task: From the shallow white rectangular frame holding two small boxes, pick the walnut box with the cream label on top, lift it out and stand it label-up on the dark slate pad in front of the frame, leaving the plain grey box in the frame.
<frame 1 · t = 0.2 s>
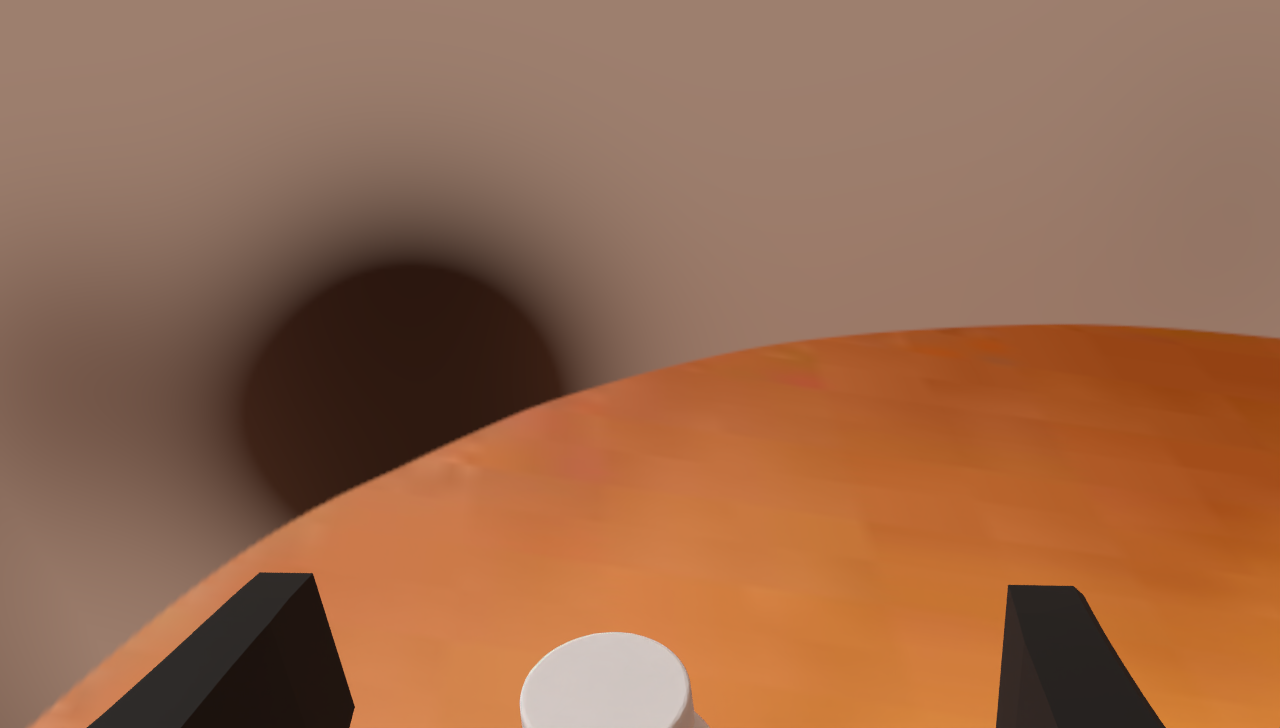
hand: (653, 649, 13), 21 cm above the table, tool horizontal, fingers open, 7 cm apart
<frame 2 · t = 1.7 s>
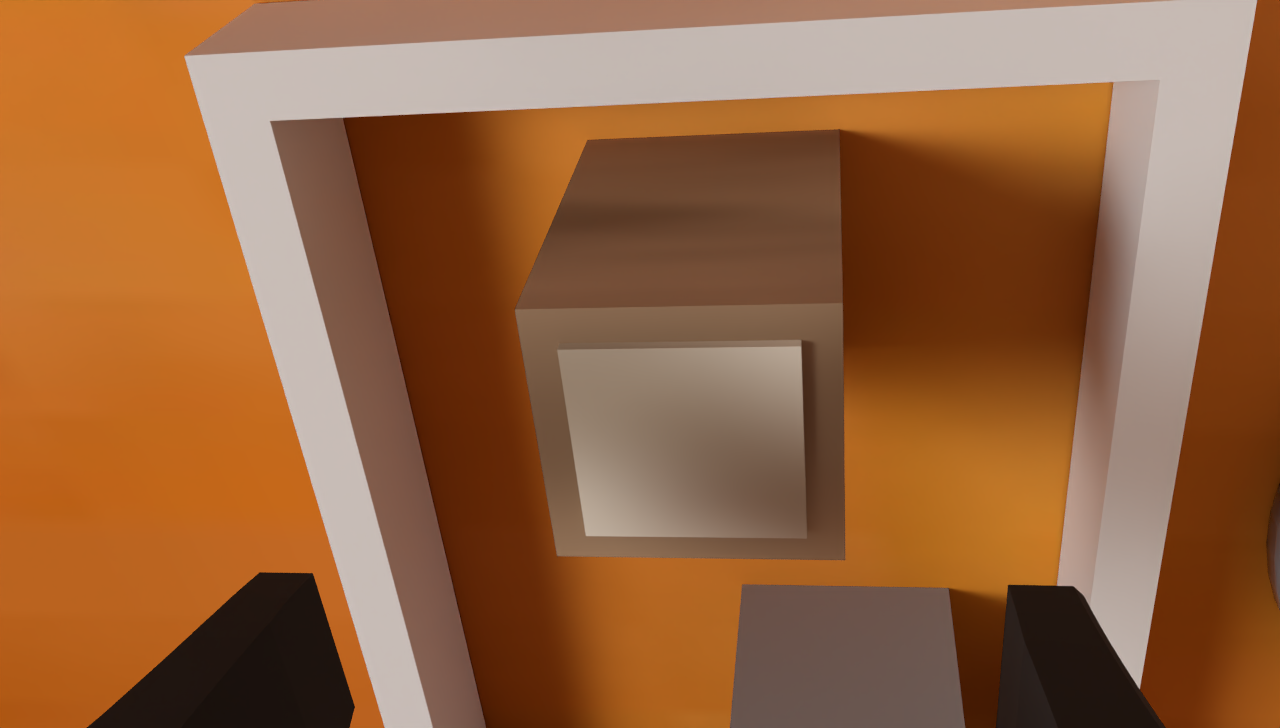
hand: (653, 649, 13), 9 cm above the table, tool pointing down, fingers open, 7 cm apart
white rectangular frame: (733, 465, 23), on the table
plain grey box: (844, 658, 25), resting in white rectangular frame
labelled walnut box: (719, 247, 20), resting in white rectangular frame
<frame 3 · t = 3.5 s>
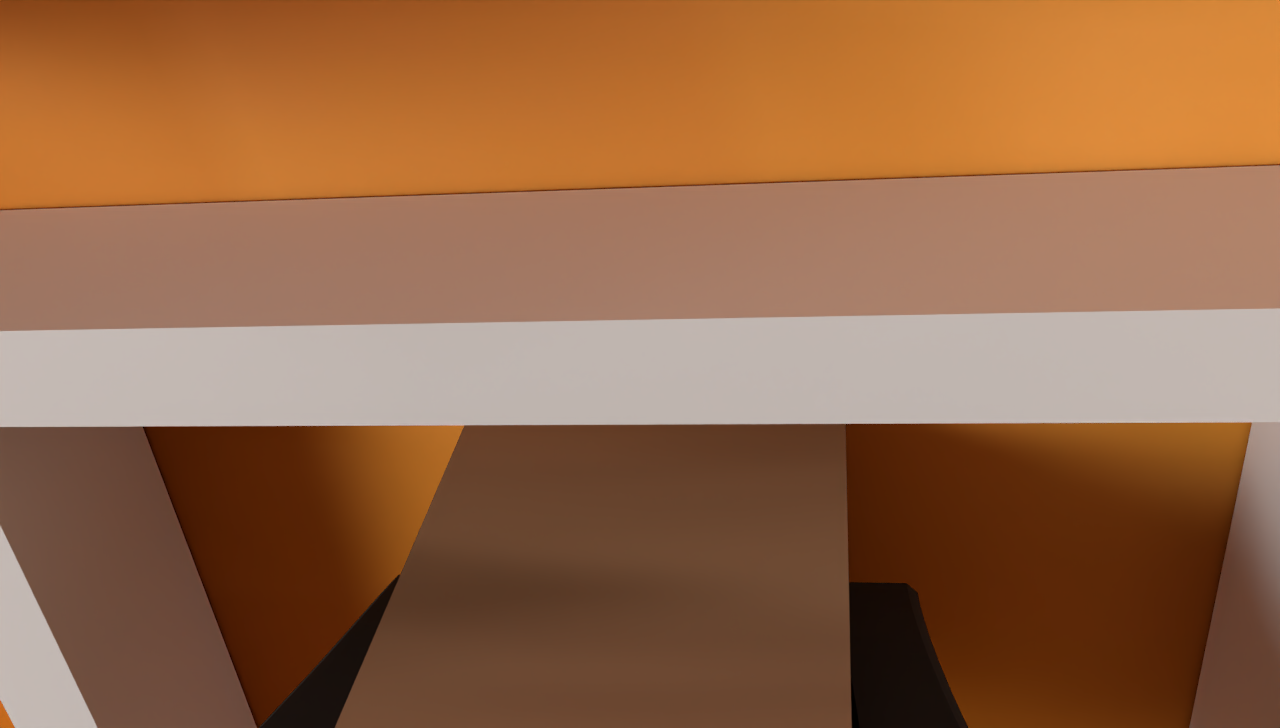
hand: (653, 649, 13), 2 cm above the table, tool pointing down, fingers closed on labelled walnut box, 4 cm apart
labelled walnut box: (670, 546, 14), resting in white rectangular frame, touching gripper
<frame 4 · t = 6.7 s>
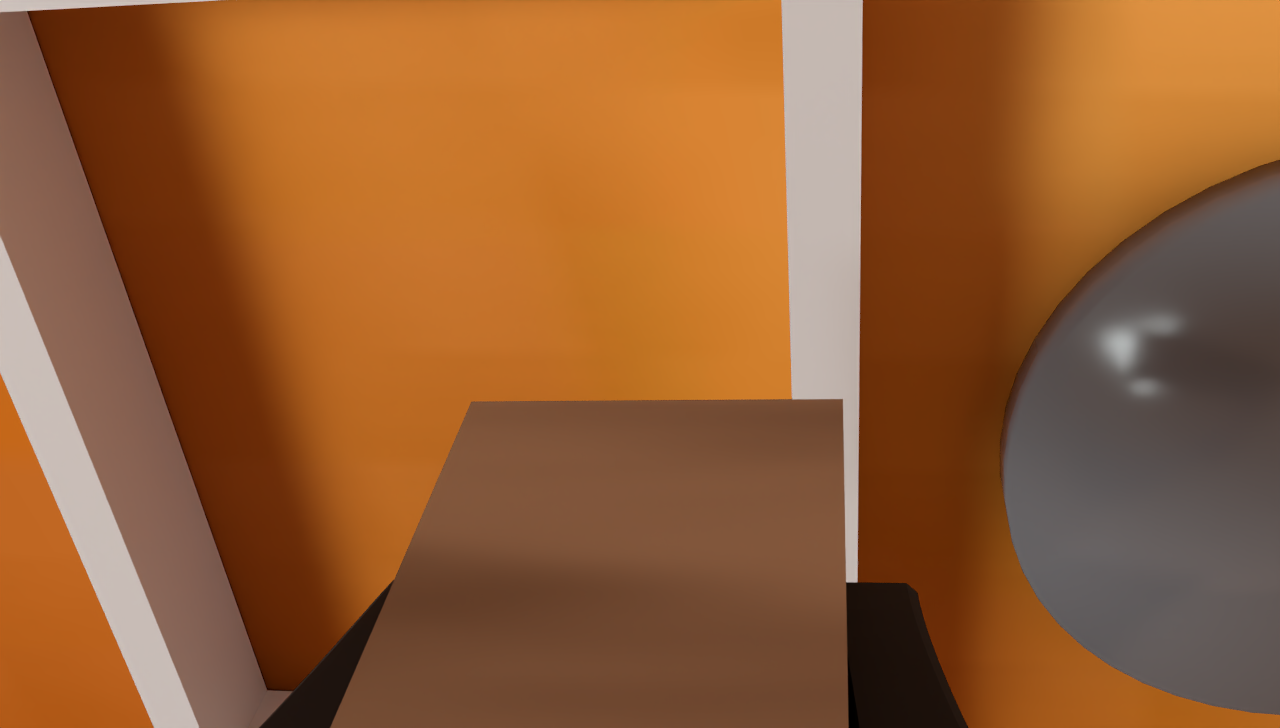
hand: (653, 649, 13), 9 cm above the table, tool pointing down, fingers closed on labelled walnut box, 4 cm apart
white rectangular frame: (466, 394, 22), on the table
labelled walnut box: (668, 544, 14), point 7 cm above the table, touching gripper
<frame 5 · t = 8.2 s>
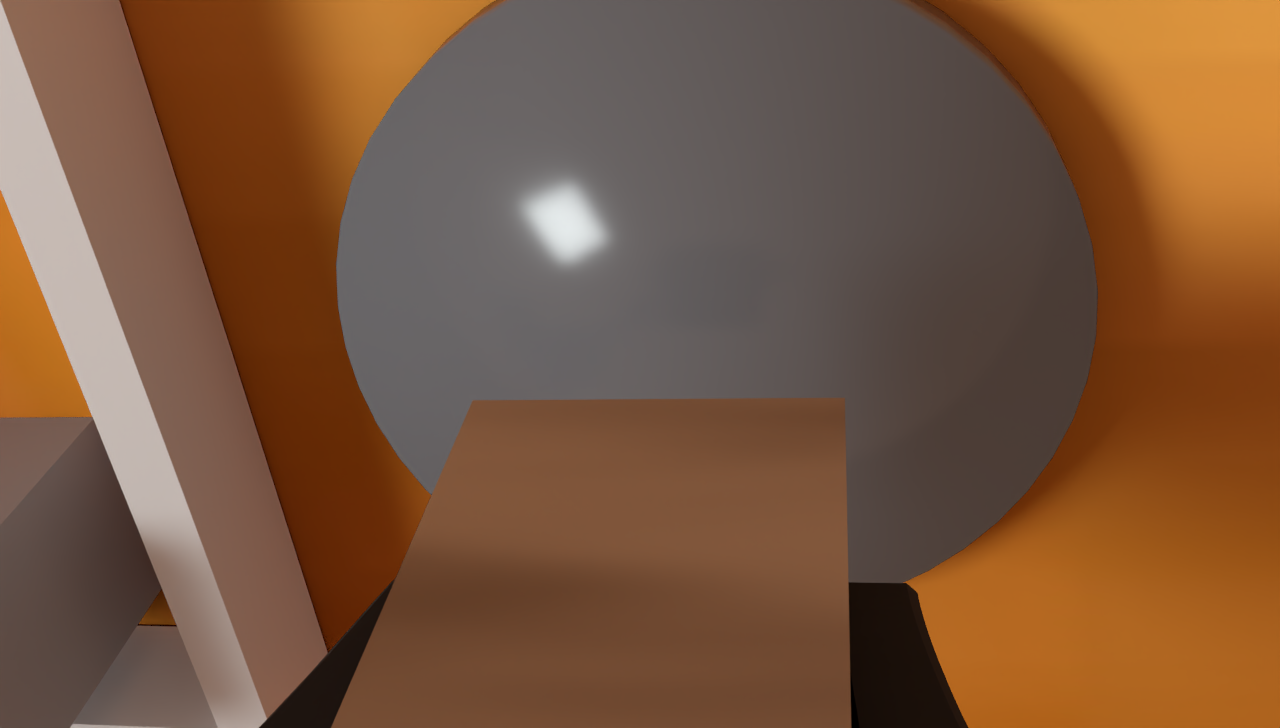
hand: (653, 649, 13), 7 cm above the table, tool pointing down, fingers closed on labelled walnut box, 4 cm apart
plain grey box: (32, 504, 23), resting in white rectangular frame
slate pad: (708, 307, 19), on the table
labelled walnut box: (669, 543, 14), point 6 cm above the table, touching gripper
when the fingers open (4 cm above the table, at t = 9.7 s): labelled walnut box stays where it is, resting on slate pad.
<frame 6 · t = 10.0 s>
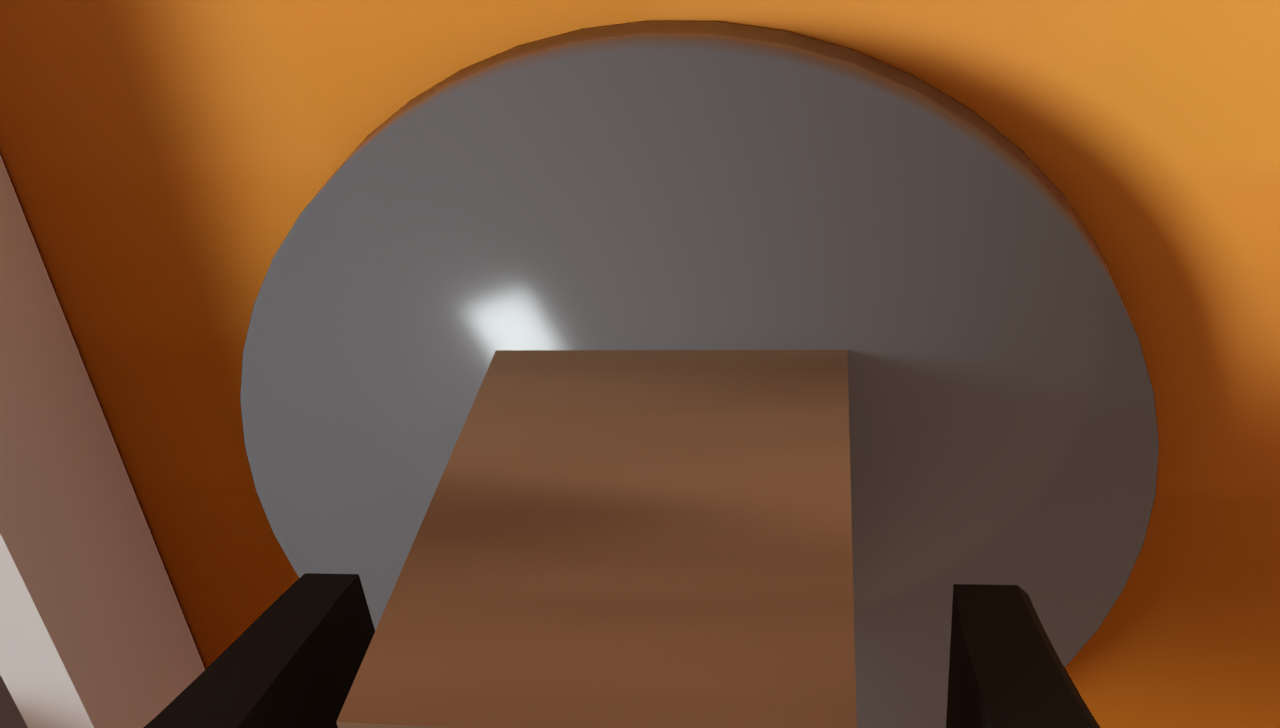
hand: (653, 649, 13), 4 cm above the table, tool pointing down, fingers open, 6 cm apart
slate pad: (687, 444, 16), on the table
labelled walnut box: (679, 489, 15), point 1 cm above the table, touching slate pad
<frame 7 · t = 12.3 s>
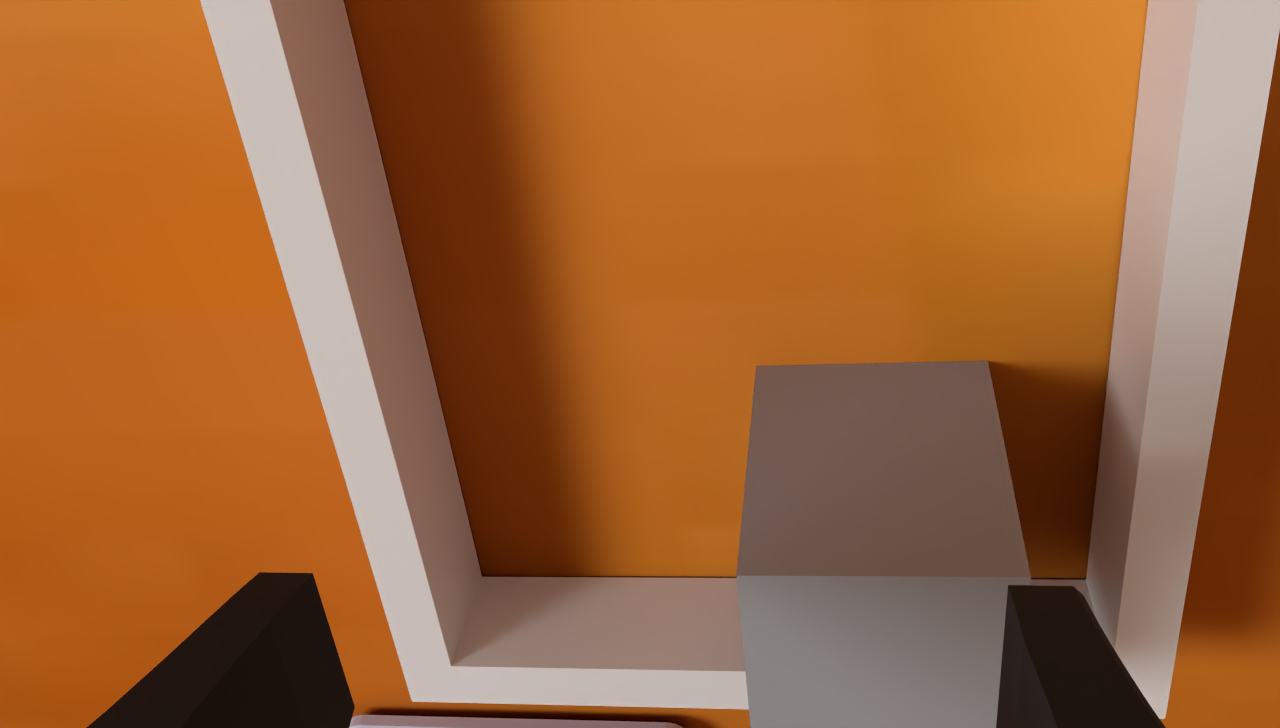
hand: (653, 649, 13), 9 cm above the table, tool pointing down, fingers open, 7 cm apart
white rectangular frame: (744, 215, 20), on the table
plain grey box: (871, 453, 23), resting in white rectangular frame
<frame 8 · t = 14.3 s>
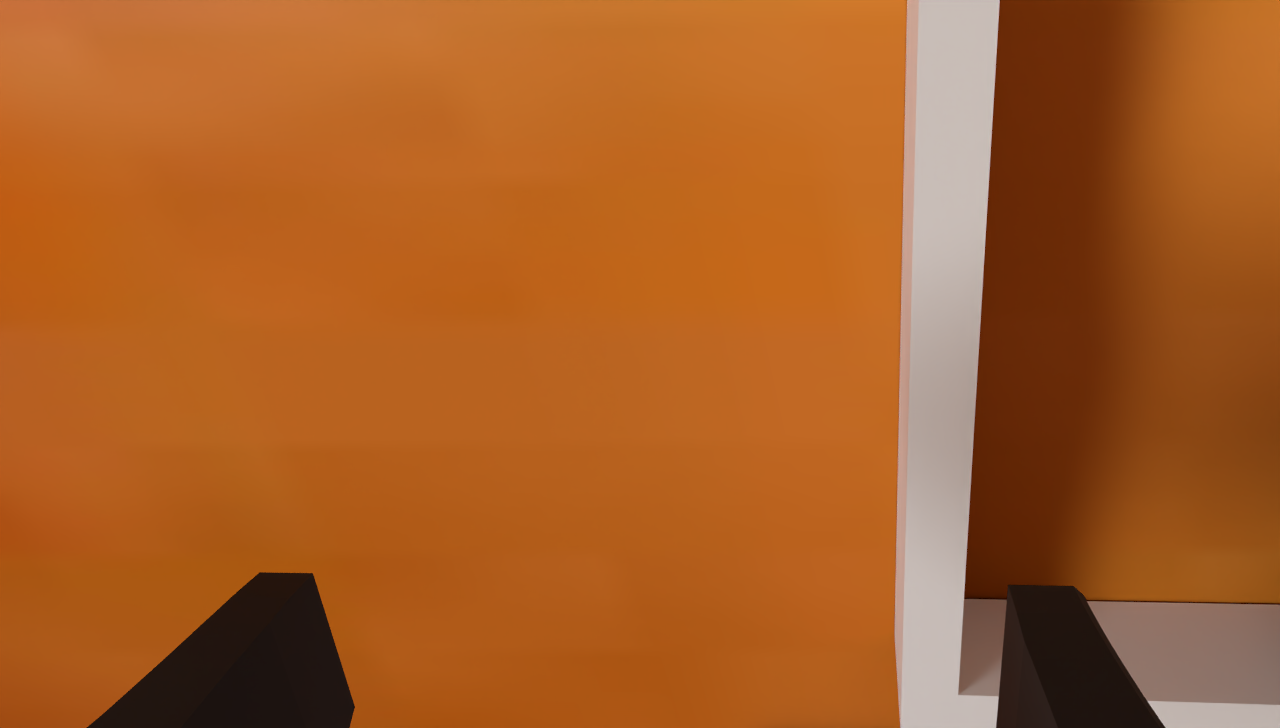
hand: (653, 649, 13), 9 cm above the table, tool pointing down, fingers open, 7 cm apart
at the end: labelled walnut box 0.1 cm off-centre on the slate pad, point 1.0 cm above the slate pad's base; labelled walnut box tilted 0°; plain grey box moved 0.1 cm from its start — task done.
